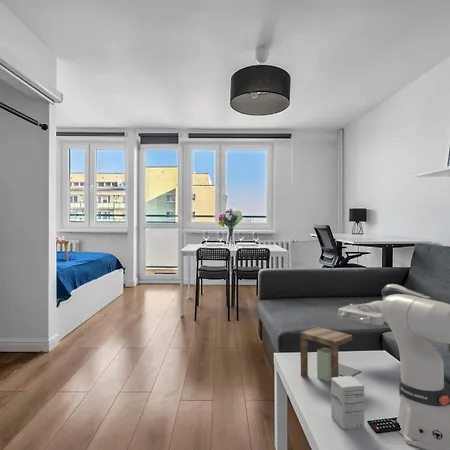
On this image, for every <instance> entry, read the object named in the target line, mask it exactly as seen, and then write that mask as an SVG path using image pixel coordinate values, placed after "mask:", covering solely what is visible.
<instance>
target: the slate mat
mask: <svg viewBox="0 0 450 450" xmlns="http://www.w3.org/2000/svg"><path fill="white" fill-rule="evenodd" d="M361 372H362V370H361V369H358V368H354V367H350V366H348V365H344V364H342V363H339V362H338V376H339V377H343V376H352V377H353V376H355V375H358V374H360V373H361Z"/></svg>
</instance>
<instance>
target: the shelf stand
mask: <svg viewBox="0 0 450 450" xmlns="http://www.w3.org/2000/svg"><path fill="white" fill-rule="evenodd" d="M299 337H300V345H299V346H300V376H301V377H303V378H306V377H308V374H309V372H308V371H309V370H308V369H309V368H308V367H309V361H308V360H309V358H308V357H309V352H308V350H309V349H308V347H309V346H308V343H309V342H308V341H309V340H310V341H313V342H316V343H319V344H322V345H326V346H329V347H330V348H329V349H331V378H333V377H339V375H338V363H339V347H340V346H342V345H344V344H347V343H349V342H353V335H352V334H349V333H345V332H340V331H336V330H332V329H328V328H324V327H320V326H317V327H313V328H310V329H307V330H303V331H301V332H300V336H299Z"/></svg>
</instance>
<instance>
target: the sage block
mask: <svg viewBox="0 0 450 450" xmlns="http://www.w3.org/2000/svg"><path fill="white" fill-rule="evenodd" d="M316 367H317V368H316V369H317V370H316V372H317V373H316V375H317V376H316V377H317V378H318V379H321V380H323V381H326V382H331V349H330V348H328V347H325V346H324V347H322V348H319V349H316Z"/></svg>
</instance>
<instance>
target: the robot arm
mask: <svg viewBox="0 0 450 450" xmlns="http://www.w3.org/2000/svg"><path fill="white" fill-rule="evenodd" d="M381 296H382V300H374V301H371V302H367V303H361V304H360V303H350V304H349V305H345V306H342V307H340V308H339V309H337V310H338V311H337V312H338V313H337V315H338V317H339V318H340V319H342V320H344V319H345V320H346V319H348V320H352V321H357V322H359V323H361V324H365V325H370V324H371V325H374V326H375V325H376V326H381V325H385V326H386V327H387V326H388V327H389V328H390V330H391V332H392V334H393V336H394V339H395V341H396V344H397V347H398V352H399V358H400V359H399V360H400V361H399V362H400V378H399V381H398V393H399V397H400V399H399V400H400V401H399V408H398V414H397V418H396V421H398V423H399V425H400V428H401V430H400V431H398V433H400V434H401V436H402V437H403V440H404V441H405V443H406V444H409V445H411V446H415V447H418V448H420V449H423V450H450V391H449V389H448V388H447V387H446V386H445V375H444V359H443V357H442V356H441V354H440V353H439V352H438V350H436V349H435V347H434V346H433V345H432V343H431V341H433V342H438V343H443V344H446V345H447V346H446V347H447V351H448V353H449V354H450V303H447V302H444V301H440V300H439V301H438V300H437V299H436V298H434V297H432V296H430V295H426V294H425V293H421V292H418V291H416V290H412V289H410V288H409V289H408V288H407V287H405V286H403V285H401V284H400V285H399V284H395V283H390V284H389V283H388V284H386V285H384V287H383V288H382V289H381ZM430 340H431V341H430Z"/></svg>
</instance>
